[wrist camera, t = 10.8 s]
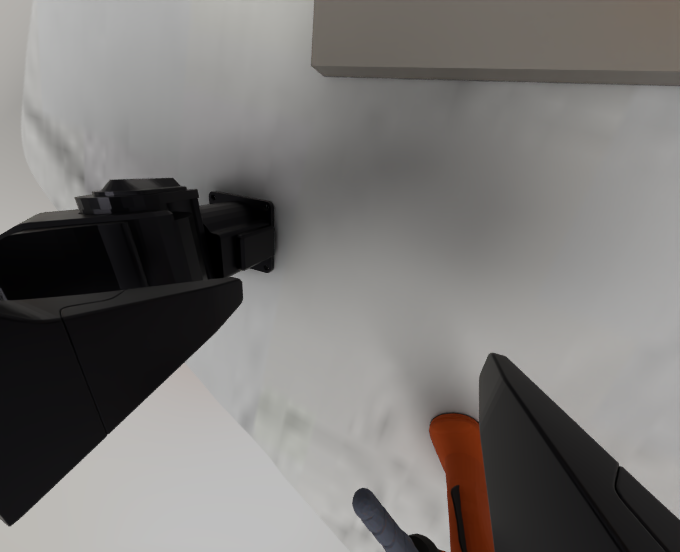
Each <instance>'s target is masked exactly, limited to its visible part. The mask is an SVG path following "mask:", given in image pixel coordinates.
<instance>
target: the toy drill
mask: <svg viewBox="0 0 680 552" xmlns="http://www.w3.org/2000/svg"><path fill="white" fill-rule="evenodd" d="M429 433H430V437H431V440H432V443H433V445H434V448H435V450H436V452H437V455H438V457H439V459H440V462H441V464H442V467H443V469H444V471H445V473H446V483H447V499H448V512H449V526H450V546H451V552H495V550H494V543H493V535H492V527H491V519H490V511H489V503H488V495H487V487H486V479H485V471H484V463H483V455H482V447H481V439H480V430H479V423H478V422H476V421H475V420H474V419H472V418H470V417H469V416H466V415H462V414H456V413H452V414H442V415H440V416H437V417H436V418H434V419H433V421H432V422H431V424H430V428H429ZM352 504H353V508H354V511H355V513H356V514H357V516H358V517H359V518H361V520H362V522H363V523H364V524H365V526H366V527H367V528H368V529H369V531H371V532H372V534H373V535H374V536H375V538H376V539H377V540H378V542H379V543H380V544H381V545H382V546H383V548H384V549H385V551H386V552H445V551H442V550H439V549H438V548H437V547H436V546H435V544H434V543H433V542H432V541H431V540H430V539H428V538H427V537H425V536H423V535H420V534H412V535H409V536H408V535H407V534H406V533H405V532H404V531H402V530H401V529H400V528H399V526H398V525H397V524H396V522H395V521H394V520H393V519H392V517H391V516H390V515H389V513H388V512H387V511H386V509H385V508H384V507H383V506H382V505H381V503H380V502H379V501H378V499H377V498H376V497H375V496H374V494H373V493H372V492H371V491H370V490H369V489H366V488H361V489H359V490H357V491H356V492H355V494H354V497H353V503H352Z"/></svg>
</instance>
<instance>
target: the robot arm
mask: <svg viewBox="0 0 680 552" xmlns="http://www.w3.org/2000/svg"><path fill="white" fill-rule="evenodd" d="M214 196H215V197H216V199H215V197H214ZM74 198H75V200H76V203H77V205H78V208H79V209H77V210H66V211H55V212H44V213H39V214H37V215H35V216H33V217H31V218H29V219H27V220H26V221H24V222H22V223H20V224H18V225H16V226H14V227H13V228H11V229H9V230H8V231H6V232H4V233H3V234H1V235H0V519H1V520H2V521H3V522H4V523H5V524H7V525H8V526H11V525H13V524H14V523H15V522H16V521H18V520H19V519H20V518H21V517H22V516H23V515H24V514H25V513H26V512H28V510H29V509H30V508H32V507H33V506H34V505H35V504H36V503H37V502H38V501H39V500H40V499H41V498H42V497H43V496H44V495H45V494H46V493H48V492H49V491H50V490H51V489H52V488H53V487H54V486H55V485H56V484H57V483H58V482H59V481H60V480H61V479H62V478H63V477H64V476H65V475H66V474H68V473H69V471H70V470H72V469H73V468H74V467H75V466H76V465H77V464H78V463H79V462H80V461H81V460H82V459H83V458H84V457H85V456H86V455H87V454H89V453H90V452H91V451H92V450H93V449H94V448H95V447H96V446H97V445H98V444H99V443H100V442H101V441H102V440H103V439H104V438H105V437H106V436H107V434H109V433H110V432H111V431H112V430H113V429H115V427H117V426H118V425H119V424H120V423H121V422H122V421H123V420H124V419H125V418H126V417H127V416H128V415H129V414H130V413H131V412H133V410H135V409H136V408H137V407H138V405H140V404H141V403H142V402H143V401H144V400H145V399H146V398H147V397H148V396H149V395H150V394H151V393H153V392H154V390H156V388H158V387H159V386H160V385H161V384H162V383H163V382H164V381H165V380H166V379H167V378H168V377H169V376H170V375H172V373H174V372H175V371H176V370H177V369H178V368H179V367H180V366H181V365H182V364H183V363H184V362H185V361H186V360H187V359H188V358H189V357H190V356H192V355H193V354H194V353H195V352H196V351H197V350H198V349H199V348H200V347H201V346H202V345H203V344H204V343H205V342H206V341H207V340H208V339H209V338H211V337H212V336H213V335H214V334H215V333H216V332H217V331H218V329H219V328H220V327H221V326H222V325H223V324H224V323H225V322H226V320H227V319H228V318H229V317H230V316H231V315H232V314H233V312H234V311H235V310H236V309H237V308H238V307H239V306H240V304H241V303H242V300H243V288H242V281H241V280H240V279H237V278H234V277H230V276H232V275H234V274H236V273H238V272H240V271H245V270H247V269H249V268H250V269H254V270H258V271H261V272H265V273H269V272H271V271H272V270H273V255H274V207H273V204H272V203H271V202H270V201H266V200H261V199H255V198H250V197H244V196H239V195H233V194H228V193H222V192H217V191H215V192H210V194H209V203H210V204H208V205H201V206H199V202H198V198H199V195H198V190H197V189H187V187H186V186H180V185H179V184H178V183H177V182H176V181H175V180H174V179H173V178H156V179H122V180H110V181H109V182H108V183H107V184H106V185H105V186H104V188H103V189H102V190H101V191H94V192H92V195H86V196H79V197H74ZM266 205H267V206H268V209H267V208H266ZM267 266H268V268H269V269H268V268H267ZM479 430H480V439H481V447H482V455H483V463H484V471H485V479H486V487H487V495H488V503H489V511H490V519H491V527H492V535H493V543H494V550H495V552H680V520H679V519H678V518H677V517H676V516H675V515H674V514H673V513H671V512H670V511H669V510H668V509H667V508H666V507H665V506H664V505H663V504H662V503H661V502H660V501H658V500H657V499H656V498H655V497H654V496H653V495H652V494H651V493H650V492H649V491H648V490H647V489H645V488H644V487H643V486H642V485H641V484H640V483H639V482H638V481H637V480H636V479H635V478H634V477H633V476H632V475H631V474H630V473H629V472H628V471H626V470H625V469H624V468H623V467H621V466H619V463H618V462H617V461H616V460H615V459H614V458H613V457H612V456H611V455H609V454H608V453H607V452H606V451H605V450H604V449H603V448H602V447H601V446H600V445H599V444H598V443H597V442H596V441H595V440H594V439H593V438H592V437H590V436H589V435H588V434H587V433H586V432H585V431H584V430H583V429H582V428H581V427H580V426H579V425H578V424H577V423H576V422H575V421H574V420H573V419H571V418H570V417H569V416H568V415H567V414H566V413H565V412H564V411H563V410H562V409H561V408H560V407H559V406H558V405H557V404H556V403H555V402H554V401H552V400H551V399H550V398H549V397H548V396H547V395H546V394H545V393H544V392H543V391H542V390H541V389H540V388H539V387H538V386H537V385H536V384H535V383H533V382H532V381H531V380H530V379H529V378H528V377H527V376H526V375H525V374H524V373H523V372H522V371H521V370H520V369H519V368H518V367H517V366H516V365H514V364H513V363H512V362H511V361H510V360H509V359H508V358H507V357H506V356H503V355H499V354H496V353H490V354H489V355H488V357H487V359H486V362H485V364H484V366H483V369H482V371H481V373H480V377H479Z"/></svg>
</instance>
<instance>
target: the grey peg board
mask: <svg viewBox="0 0 680 552" xmlns="http://www.w3.org/2000/svg"><path fill="white" fill-rule="evenodd" d="M311 66H312V67H313V68H314V69H316V70H317V71H318V72H320V73H321V74H322V75H323V76H332V77H369V78H407V79H444V80H481V81H518V82H556V83H593V84H630V85H668V86H680V0H314V18H313V37H312V57H311Z"/></svg>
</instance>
